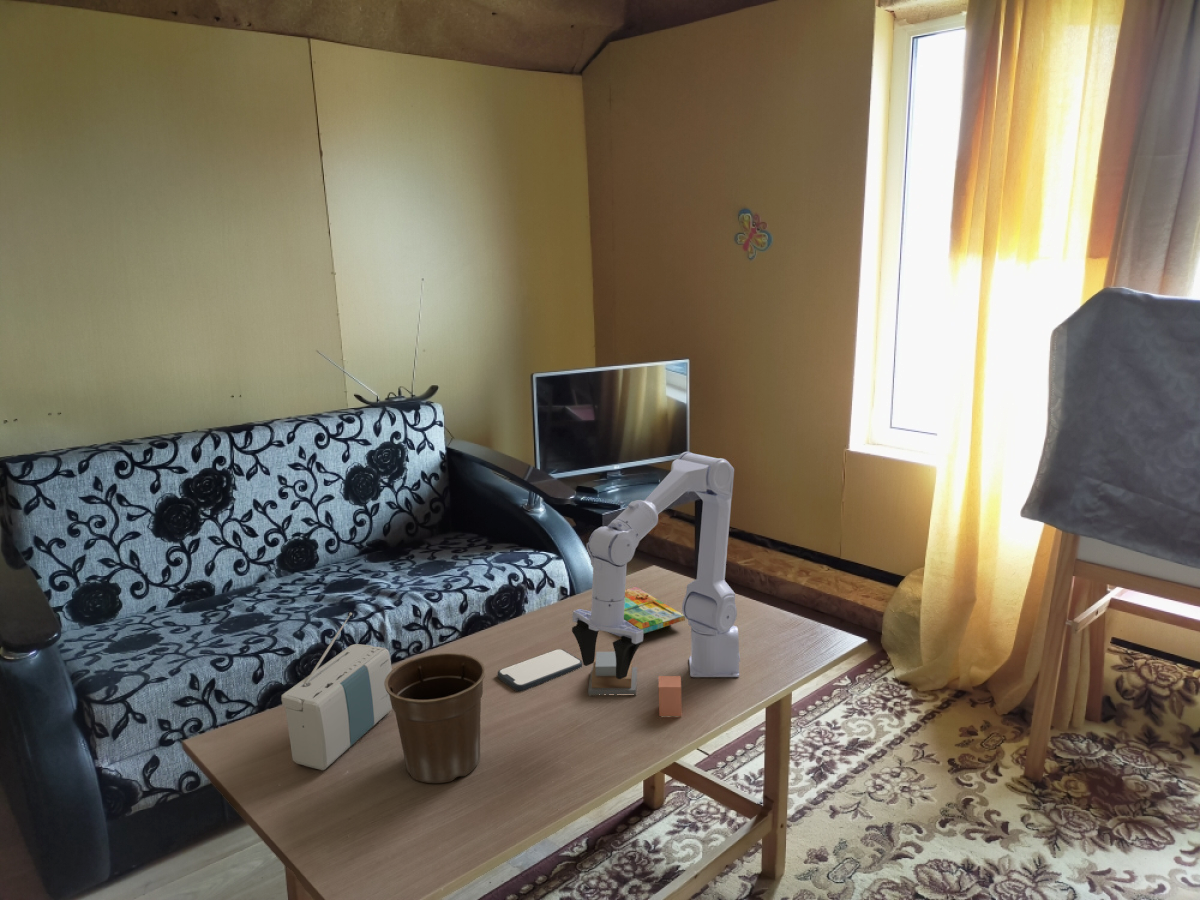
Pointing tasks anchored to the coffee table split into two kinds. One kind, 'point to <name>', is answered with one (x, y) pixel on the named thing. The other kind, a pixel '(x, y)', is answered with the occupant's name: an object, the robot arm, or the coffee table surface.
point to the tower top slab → (605, 664)
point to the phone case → (539, 669)
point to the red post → (670, 696)
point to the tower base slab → (614, 690)
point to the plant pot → (438, 714)
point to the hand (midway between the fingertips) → (604, 670)
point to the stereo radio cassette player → (337, 703)
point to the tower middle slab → (611, 680)
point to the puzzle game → (648, 611)
